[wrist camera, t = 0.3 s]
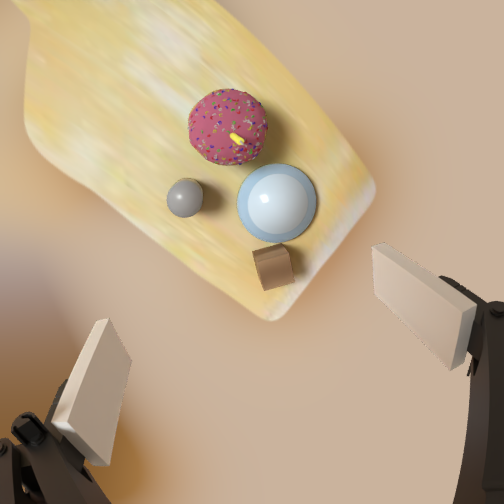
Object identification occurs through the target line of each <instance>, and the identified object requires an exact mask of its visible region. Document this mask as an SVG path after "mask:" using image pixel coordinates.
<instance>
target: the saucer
mask: <svg viewBox="0 0 504 504" xmlns="http://www.w3.org/2000/svg"><path fill="white" fill-rule="evenodd" d="M315 209H316V194H315V190H314V188H313V185H312V183H311V182H310V180H309V179H308V177H307V176H306V175H305V174H304V173H303V172H301V171H300V170H298V169H297V168H295V167H292V166H290V165H286V164H280V163H273V164H267V165H264V166H261V167H259V168H257V169H256V170H254V171H253V172H252V173H250V174H249V175H248V176H247V177H246V179H245V180H244V181H243V183H242V185H241V187H240V189H239V192H238V196H237V210H238V214H239V217H240V219H241V221H242V223H243V225H244V226H245V228H246V229H247V230H248V231H249V232H250V233H251V234H252V235H253V236H255V237H256V238H258V239H260V240H263V241H266V242H273V243H278V242H285V241H288V240H291V239H293V238H295V237H297V236H298V235H300V234H301V233H302V232H303V231H304V230H305V229H306V228H307V227H308V225H309V224H310V222H311V221H312V219H313V216H314V213H315Z"/></svg>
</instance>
